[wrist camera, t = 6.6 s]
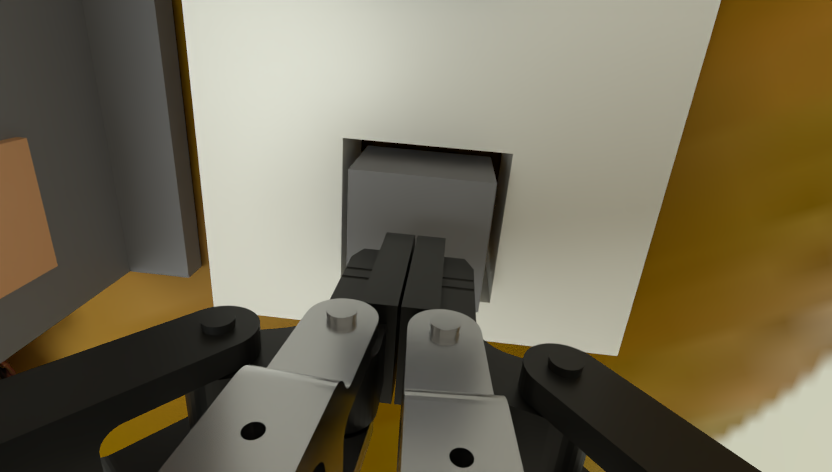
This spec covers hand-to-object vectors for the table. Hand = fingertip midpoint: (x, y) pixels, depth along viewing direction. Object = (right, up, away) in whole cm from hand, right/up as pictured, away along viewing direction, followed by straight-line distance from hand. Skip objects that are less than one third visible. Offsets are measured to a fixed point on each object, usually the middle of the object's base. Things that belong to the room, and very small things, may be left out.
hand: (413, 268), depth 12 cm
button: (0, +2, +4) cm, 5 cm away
